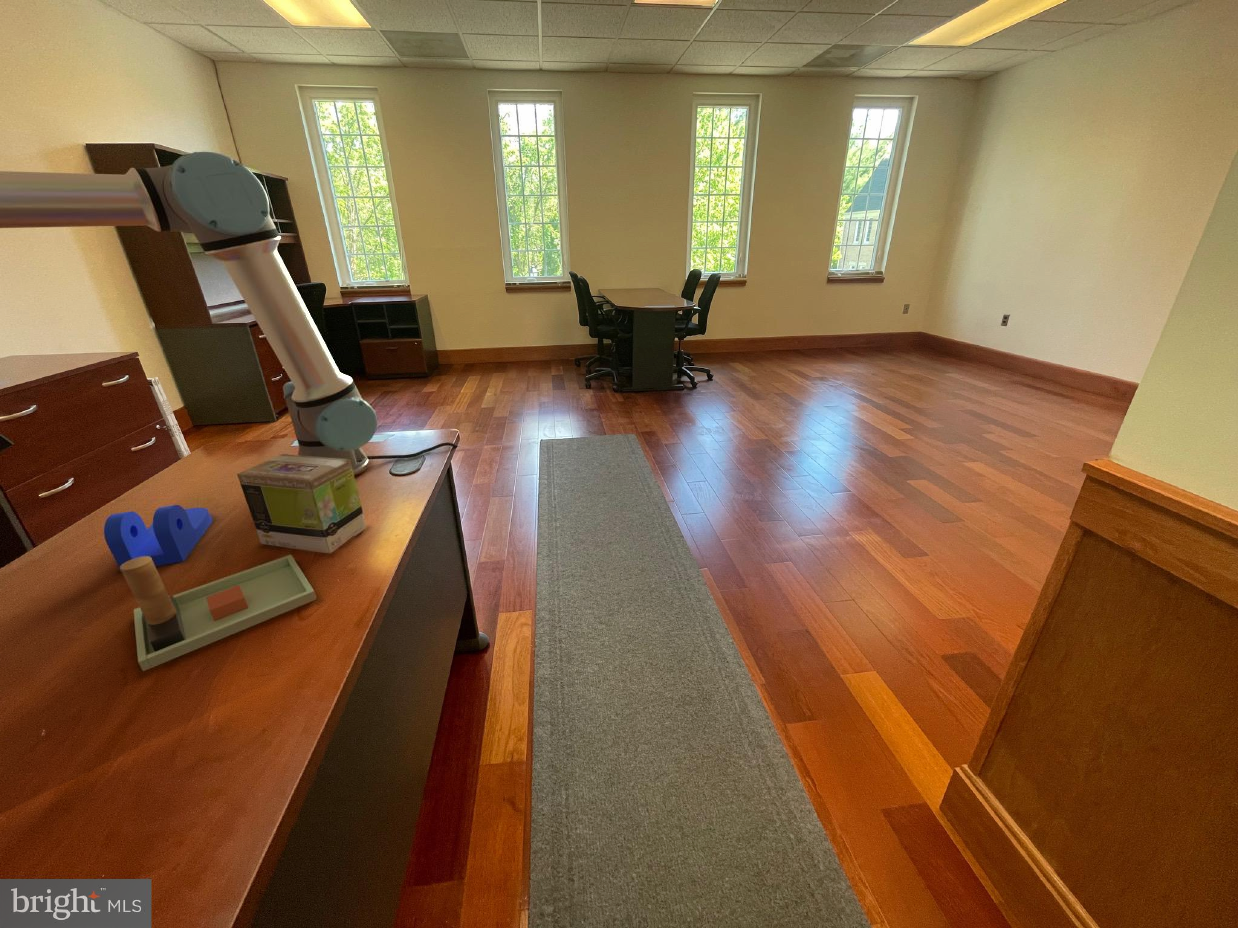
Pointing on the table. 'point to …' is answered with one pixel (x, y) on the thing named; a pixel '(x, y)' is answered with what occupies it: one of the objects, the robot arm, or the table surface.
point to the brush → (154, 602)
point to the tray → (266, 598)
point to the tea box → (303, 502)
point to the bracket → (156, 534)
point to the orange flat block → (226, 603)
